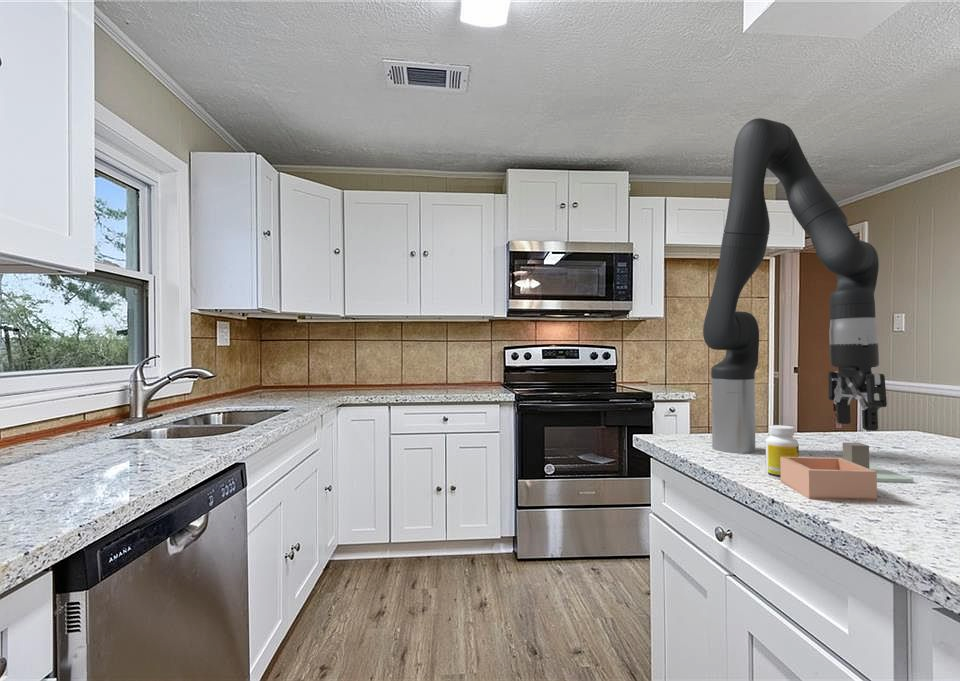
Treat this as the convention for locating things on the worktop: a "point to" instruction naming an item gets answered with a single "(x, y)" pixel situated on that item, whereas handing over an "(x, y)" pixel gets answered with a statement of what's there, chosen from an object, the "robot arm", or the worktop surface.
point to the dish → (829, 478)
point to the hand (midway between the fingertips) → (856, 426)
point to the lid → (860, 456)
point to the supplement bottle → (779, 448)
